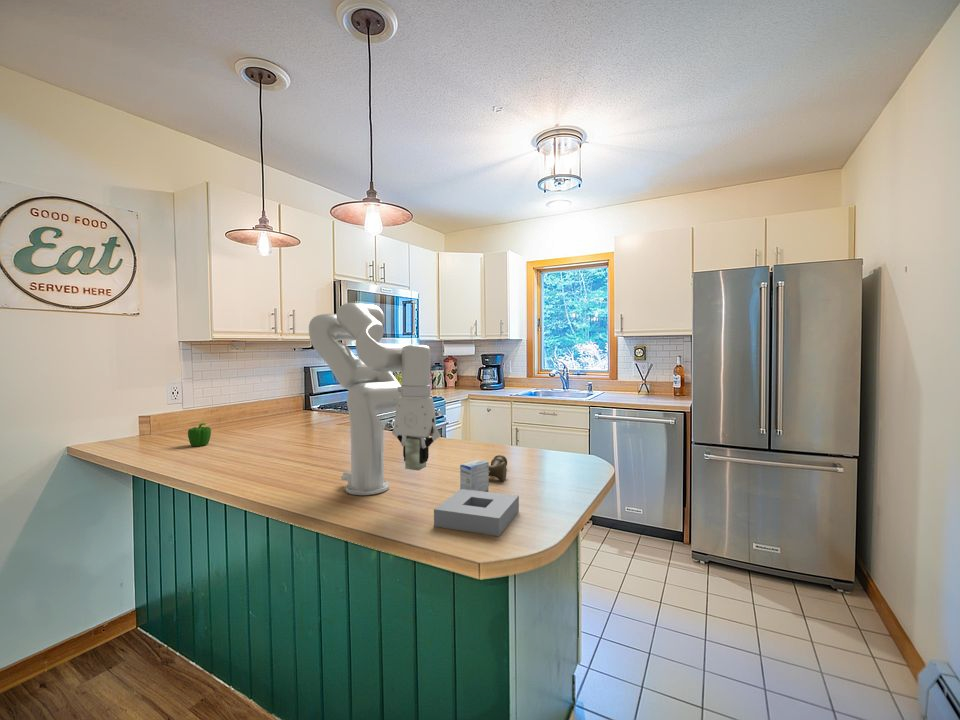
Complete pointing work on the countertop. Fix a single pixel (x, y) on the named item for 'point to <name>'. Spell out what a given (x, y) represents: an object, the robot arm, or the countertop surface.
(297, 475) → the countertop surface
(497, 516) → the socket block
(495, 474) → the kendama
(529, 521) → the countertop surface
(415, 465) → the peg
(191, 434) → the bell pepper
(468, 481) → the medicine box
